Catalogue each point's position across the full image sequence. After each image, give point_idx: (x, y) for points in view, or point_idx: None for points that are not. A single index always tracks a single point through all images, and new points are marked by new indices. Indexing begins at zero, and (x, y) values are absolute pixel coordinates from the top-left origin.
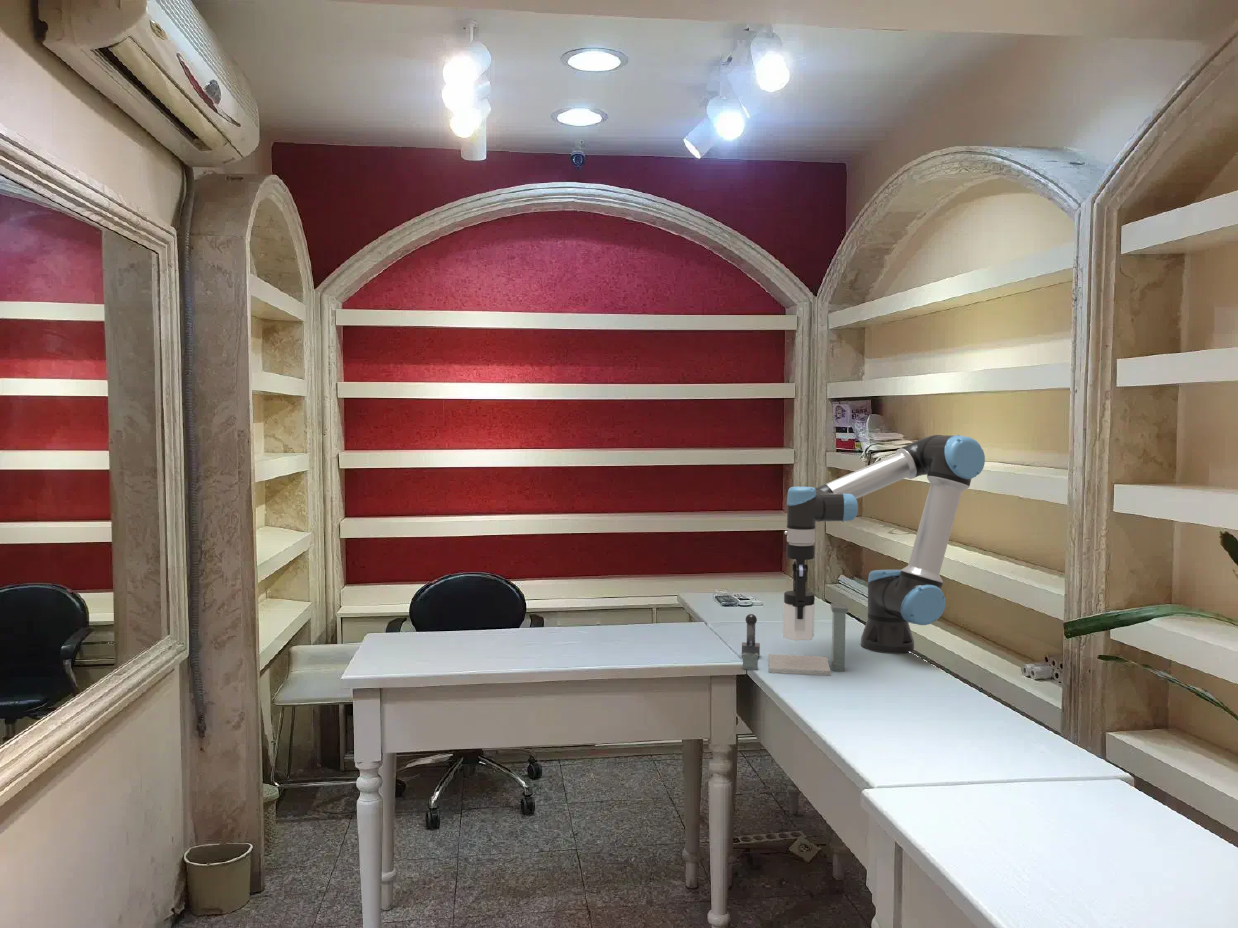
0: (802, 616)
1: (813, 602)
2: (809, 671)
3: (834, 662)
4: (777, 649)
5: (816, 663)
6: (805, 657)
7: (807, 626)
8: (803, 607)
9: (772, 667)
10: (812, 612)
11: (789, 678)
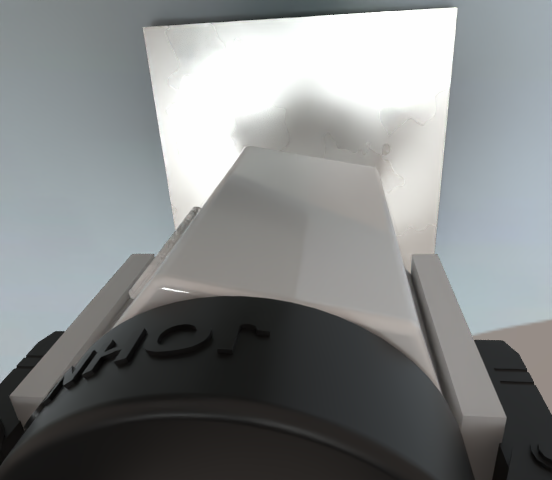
0: (522, 364)
1: (329, 327)
2: (444, 133)
3: None
4: (33, 266)
5: (301, 92)
6: (194, 151)
7: (400, 245)
8: (499, 428)
9: None
10: (396, 268)
11: (516, 227)
